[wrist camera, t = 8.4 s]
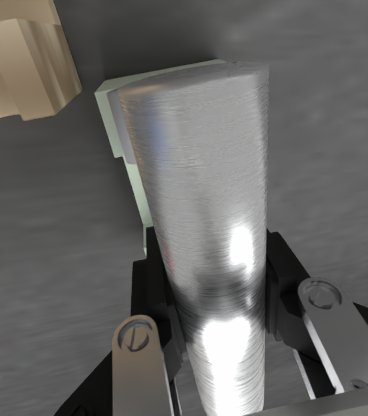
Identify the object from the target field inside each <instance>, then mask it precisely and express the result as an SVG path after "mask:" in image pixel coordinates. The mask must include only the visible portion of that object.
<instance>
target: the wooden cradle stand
mask: <svg viewBox="0 0 368 416" xmlns="http://www.w3.org/2000/svg"><path fill="white" fill-rule="evenodd" d="M82 90H83V88H82V85H81V82H80V79H79V76H78V73H77V70H76V67H75V64H74V61H73V58H72V55H71V52H70V49H69V47H68V44H67V41H66V38H65V35H64V32H63V29H62V26H61V23H60V20H59V17H58V14H57V11H56V8H55V5H54V2H53V0H0V117H6V116H11V115H16V114H21V117H22V119H23V121H26V120H31V119H36V118H41V117H47V116H52V115H56V114H57V113H58V112H59V111H60V110H61V109H62V108H63V107H65V106H66V105H67V104H68V103H69V102H70V101H71V100H72V99H73V98H75V97H76V96H77V95H78V94H79V93H80V92H81V91H82Z"/></svg>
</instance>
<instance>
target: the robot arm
mask: <svg viewBox="0 0 368 416" xmlns="http://www.w3.org/2000/svg"><path fill="white" fill-rule="evenodd" d="M265 328H266V330H267V332H268V333H269V334H271V333H273V335H274V337H275V339H276V341H282V340H283V341H284V343H285V344H286V345H288V346H290V347H292V349H293V353H294V355H295V358H296V361H297V363H298V366H299V369H300V371H301V374H302V377H303V379H304V382H305V385H306V387H307V390H308V393H309V395H310V398H311V400H308V401H304V402H299V403H295V404H290V405H286V406H282V407H277V408H273V409H268V410H264V411H260V412H255V413H251V414H246V415H242V416H368V308H367V307H364V306H362V305H359V304H356V303H354V302H352V301H351V300H350V298H349V297H348V295H347V294H346V292H345V291H344V290H343V289H342V287H341V286H339V285H338V284H337V283H335V282H333V281H331V280H329V279H326V278H321V277H312V278H311V277H310V276H309V274H308V273H307V271H306V270H305V269H304V267H303V266H302V264H301V263H300V262H299V260H298V259H297V257H296V256H295V255H294V253H293V252H292V250H291V249H290V247H289V246H288V245H287V243H286V242H285V240H284V239H283V238H282V236H281V235H280V234H279V233H278V232H273V233H270V232H269V230H268V229H267V227H266V289H265ZM184 352H187V346H186V341H185V337H184V334H183V330H182V326H181V323H180V319H179V315H178V311H177V308H176V304H175V300H174V297H173V293H172V289H171V286H170V284H169V280H168V277H167V273H166V269H165V266H164V262H163V258H162V255H161V251H160V247H159V244H158V240H157V236H156V233H155V229H154V226H151V227H146V259H144V260H139V261H134V262H133V271H132V295H131V317H129V318H127V319H126V320H124V321H123V322H122V323H121V324H120V325H119V326H118V327H117V329H116V331H115V333H114V335H113V341H112V351H111V352H110V353H109V354H108V355H107V356H106V357H105V358H104V360H103V361H102V362H101V363H100V364H99V365H98V366H97V367H96V368H95V369H94V371H93V372H92V373H91V374H90V375H89V376H88V377H87V378H86V379H85V380H84V382H83V383H82V384H81V385H80V386H79V387H78V388H77V389H76V390H75V391H74V392H73V394H72V395H71V396H70V397H69V398H68V399H67V400H66V401H65V402H64V403H63V405H62V406H61V407H60V408H59V409H58V411H57V412H56V413H55V415H54V416H182V412H181V407H180V402H179V396H178V391H177V386H176V381H175V375H176V374H177V372H178V371H179V370H180V368H181V363H182V362H183V357H182V353H184Z"/></svg>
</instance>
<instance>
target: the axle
mask: <svg viewBox="0 0 368 416" xmlns="http://www.w3.org/2000/svg"><path fill="white" fill-rule="evenodd" d="M117 93H118V97H119V100H120V104H121V108H122V111H123V115H124V119H125V122H126V126H127V130H128V133H129V137H130V141H131V144H132V148H133V152H134V155H135V159H136V163H137V166H138V170H139V174H140V177H141V181H142V185H143V189H144V192H145V196H146V200H147V203H148V207H149V211H150V214H151V218H152V222H153V225H154V229H155V233H156V236H157V240H158V244H159V247H160V251H161V255H162V258H163V262H164V266H165V269H166V273H167V277H168V280H169V284H170V286H171V289H172V293H173V297H174V300H175V304H176V308H177V311H178V315H179V319H180V323H181V326H182V330H183V334H184V337H185V341H186V346H187V350H188V354H189V358H190V361H191V365H192V369H193V372H194V376H195V380H196V383H197V387H198V391H199V394H200V398H201V402H202V405H203V408H204V410H205V412H206V414H207V415H208V416H242V415H246V414H251V413H255V412H260V411H262V409H263V403H264V354H265V289H266V224H267V159H268V94H269V65H268V64H267V63H264V62H252V61H247V62H230V63H220V64H212V65H204V66H198V67H192V68H186V69H181V70H176V71H171V72H166V73H162V74H158V75H154V76H150V77H146V78H143V79H139V80H136V81H133V82H131V83H128V84H126V85H124V86H122V87H120V88H119V89H118V90H117Z"/></svg>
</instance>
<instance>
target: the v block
mask: <svg viewBox="0 0 368 416" xmlns="http://www.w3.org/2000/svg"><path fill="white" fill-rule="evenodd" d="M220 63H230V62H226V61H223V60H219V59H215V60H210V61H205V62H199V63H194V64H189V65H184V66H178V67H173V68H168V69H163V70H157V71H152V72H147V73H142V74H136V75H131V76H126V77H121V78H115V79H110V80H105V81H104V82H103V83H102V84H101V86H100V87H99V88H98V89H97V90H96V92H95V93H94V94H95V97H96V100H97V103H98V106H99V109H100V113H101V116H102V119H103V122H104V125H105V128H106V131H107V135H108V138H109V141H110V144H111V147H112V150H113V153H114V157H115V158H116V157H121V156H123V158H124V162H125V165H126V168H127V172H128V175H129V178H130V182H131V185H132V188H133V192H134V195H135V198H136V202H137V205H138V208H139V212H140V215H141V218H142V222H143V234H144V251H145V254H146V227H151V226H154V225H153V222H152V218H151V214H150V211H149V207H148V203H147V200H146V196H145V192H144V189H143V185H142V181H141V177H140V174H139V170H138V166H137V163H136V159H135V155H134V152H133V148H132V144H131V141H130V137H129V133H128V130H127V126H126V122H125V119H124V115H123V111H122V108H121V104H120V100H119V97H118V93H117V90H118V89H119V88H120V87H122V86H124V85H126V84H128V83H131V82H133V81H136V80H139V79H143V78H146V77H150V76H154V75H158V74H162V73H166V72H171V71H176V70H181V69H186V68H192V67H198V66H204V65H212V64H220Z"/></svg>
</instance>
